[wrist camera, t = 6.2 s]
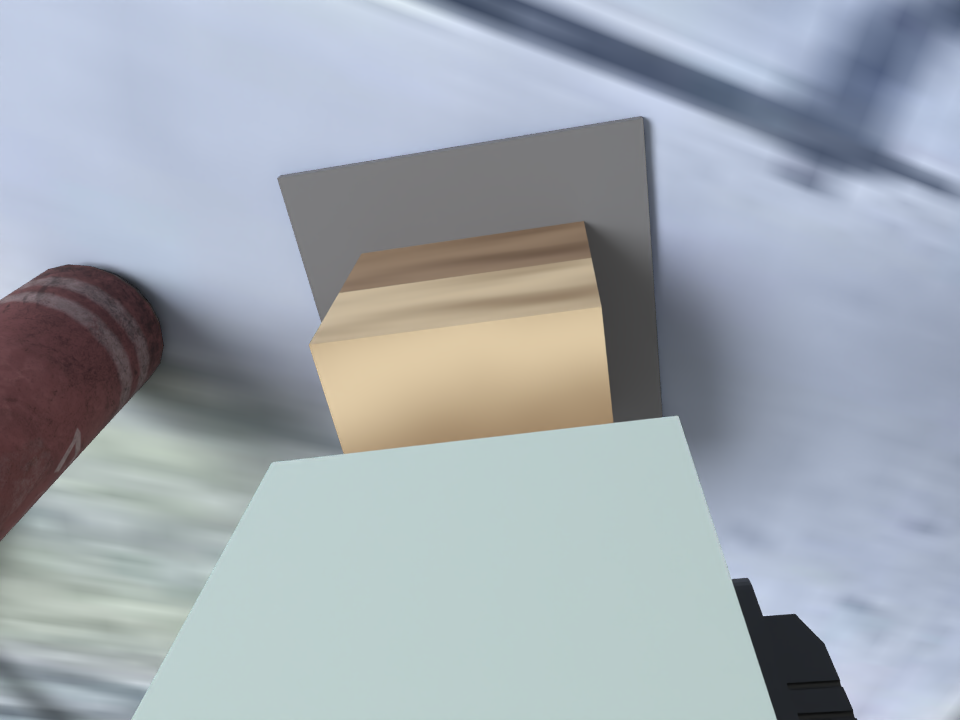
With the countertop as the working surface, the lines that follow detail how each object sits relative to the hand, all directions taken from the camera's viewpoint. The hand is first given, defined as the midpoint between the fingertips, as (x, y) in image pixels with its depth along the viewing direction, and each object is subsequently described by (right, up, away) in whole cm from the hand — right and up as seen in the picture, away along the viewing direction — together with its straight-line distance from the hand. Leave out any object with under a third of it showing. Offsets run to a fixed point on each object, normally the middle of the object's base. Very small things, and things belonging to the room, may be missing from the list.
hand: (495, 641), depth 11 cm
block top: (0, +3, +16) cm, 17 cm away
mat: (0, +5, +20) cm, 21 cm away
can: (-17, +6, +21) cm, 28 cm away
